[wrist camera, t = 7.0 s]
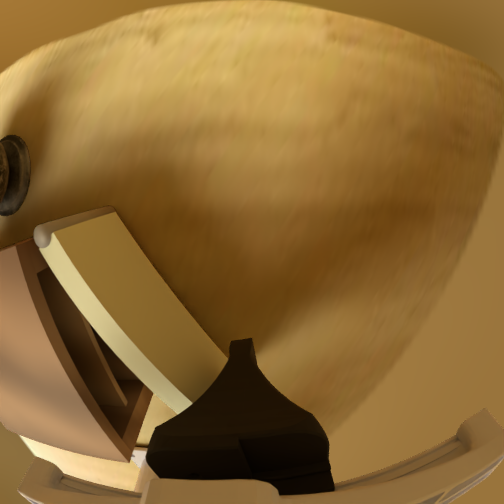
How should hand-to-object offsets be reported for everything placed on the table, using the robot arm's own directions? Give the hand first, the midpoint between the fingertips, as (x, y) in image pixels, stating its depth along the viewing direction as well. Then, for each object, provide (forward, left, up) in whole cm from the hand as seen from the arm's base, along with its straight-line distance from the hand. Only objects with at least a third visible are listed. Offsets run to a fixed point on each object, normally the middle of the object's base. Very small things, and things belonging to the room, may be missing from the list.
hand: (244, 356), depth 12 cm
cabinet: (+2, +12, -3) cm, 12 cm away
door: (+3, +3, -2) cm, 5 cm away
